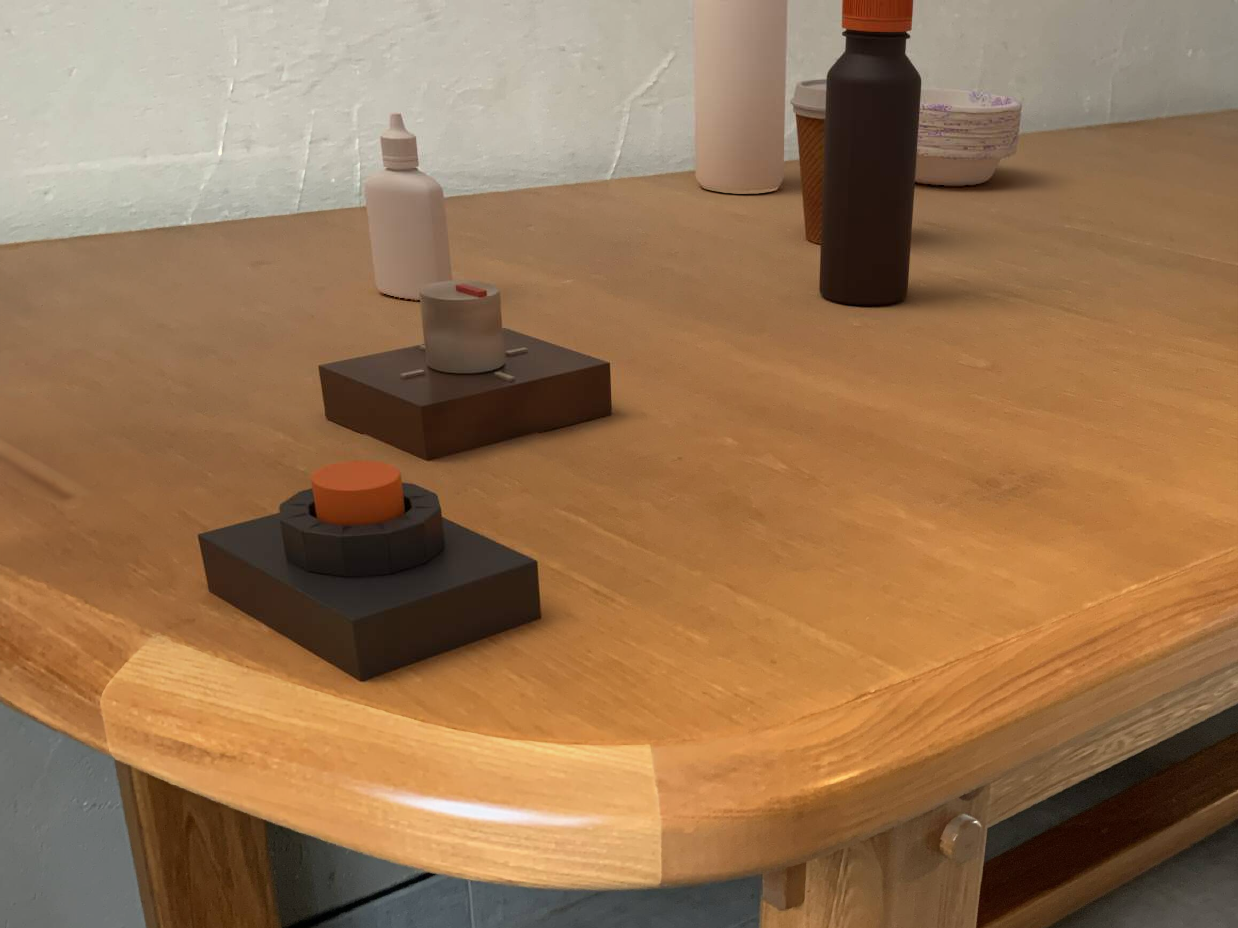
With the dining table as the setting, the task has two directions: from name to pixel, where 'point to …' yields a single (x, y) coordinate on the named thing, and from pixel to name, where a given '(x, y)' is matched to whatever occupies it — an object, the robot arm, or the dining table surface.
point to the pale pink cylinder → (740, 93)
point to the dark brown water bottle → (870, 157)
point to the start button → (357, 493)
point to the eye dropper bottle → (406, 219)
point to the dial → (462, 326)
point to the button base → (371, 582)
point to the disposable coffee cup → (811, 150)
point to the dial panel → (465, 396)
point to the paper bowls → (964, 135)
